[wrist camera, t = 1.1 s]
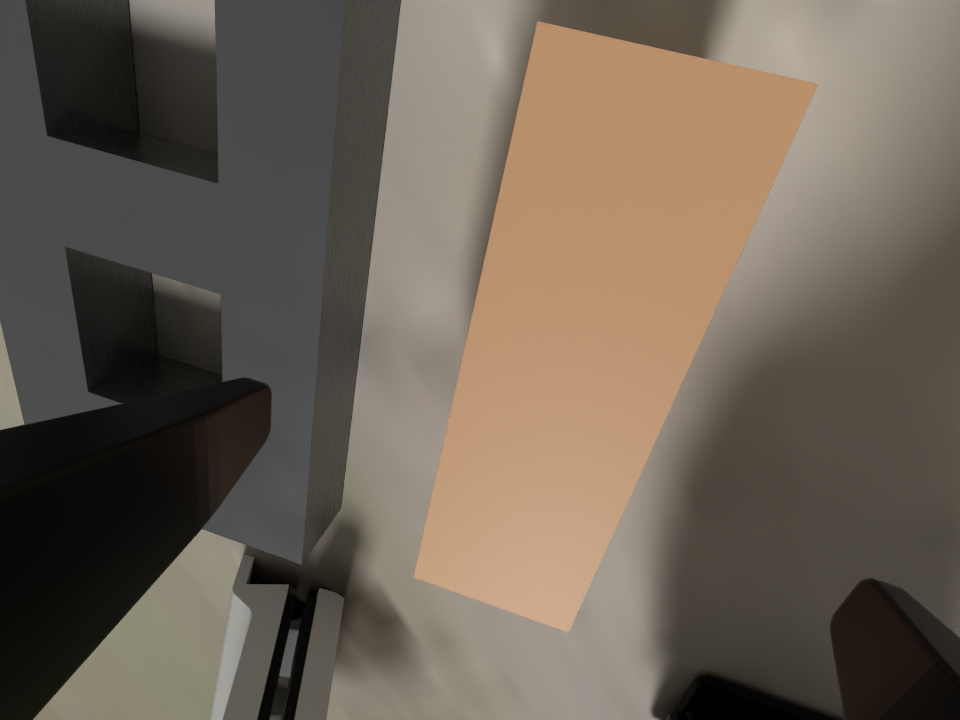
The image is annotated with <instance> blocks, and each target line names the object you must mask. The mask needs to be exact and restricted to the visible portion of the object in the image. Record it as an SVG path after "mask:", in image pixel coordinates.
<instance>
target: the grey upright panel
mask: <svg viewBox="0 0 960 720" xmlns="http://www.w3.org/2000/svg"><path fill="white" fill-rule="evenodd" d="M253 562H254V557H252V556H249V555H243V558H242V561H241V564H240V567H239V570H238V573H237V576H236V579H235V582H234V585H233V588H232V594H231V600H230V606H229V612H228V617H227V623H226V629H225V635H224V640H223V646H222V652H221V658H220V663H219V669H218V675H217V681H216V687H215V692H214V698H213V704H212V710H211V715H210V720H326V717H327V711H328V704H329V697H330V691H331V684H332V677H333V671H334V664H335V657H336V651H337V644H338V637H339V631H340V624H341V617H342V611H343V604H344V598H343V597H342V596H340V595H339V594H337V593H336V592H333V591H329V590H325V589H321V588H320V589H319V591H318V594H317V597H316V598H315V597H307V601H306V604H305V608H304V611H303V615H302V618H298V619H295V620H292V615H293V611H294V606H295V602H296V597H297V595H288V594H287V593H288V588H289V585H282V584H249V582H250V577H251V572H252V567H253ZM291 620H292V621H291ZM279 676H282V677H288V678H290V679H289V684H288V688H278V687H277V683H278V678H279Z"/></svg>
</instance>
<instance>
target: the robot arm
mask: <svg viewBox="0 0 960 720" xmlns="http://www.w3.org/2000/svg"><path fill="white" fill-rule="evenodd" d="M271 413H272V390H271V388H270V386H269V385H268V384H266V383H263V382H260V381H257V380H254V379H251V378H246V377H243V378H238V379H233V380H229V381H224V382H220V383H215V384H210V385H206V386H201V387H197V388H192V389H187V390H183V391H178V392H173V393H169V394H164V395H160V396H155V397H150V398H146V399H141V400H137V401H132V402H127V403H123V404H118V405H114V406H109V407H104V408H100V409H95V410H91V411H86V412H81V413H77V414H72V415H67V416H63V417H58V418H54V419H49V420H44V421H40V422H35V423H31V424H26V425H21V426H17V427H12V428H8V429H3V430H0V720H33V719H34V718H35V717H36V716H37V714H38V713H39V712H40V711H41V710H42V709H43V708H44V706H45V705H46V704H47V703H48V702H49V701H50V700H51V699H52V697H53V696H54V695H55V694H56V693H57V692H58V691H59V690H60V688H61V687H62V686H63V685H64V684H65V683H66V682H67V681H68V679H69V678H70V677H71V676H72V675H73V674H74V673H75V671H76V670H77V669H78V668H79V667H80V666H81V665H82V664H83V662H84V661H85V660H86V659H87V658H88V657H89V656H90V655H91V653H92V652H93V651H94V650H95V649H96V648H97V647H98V646H99V644H100V643H101V642H102V641H103V640H104V639H105V638H106V636H107V635H108V634H109V633H110V632H111V631H112V630H113V629H114V627H115V626H116V625H117V624H118V623H119V622H120V621H121V620H122V618H123V617H124V616H125V615H126V614H127V613H128V612H129V611H130V609H131V608H132V607H133V606H134V605H135V604H136V603H137V601H138V600H139V599H140V598H141V597H142V596H143V595H144V594H145V592H146V591H147V590H148V589H149V588H150V587H151V586H152V585H153V583H154V582H155V581H156V580H157V579H158V578H159V577H160V576H161V574H162V573H163V572H164V571H165V570H166V569H167V568H168V566H169V565H170V564H171V563H172V562H173V561H174V560H175V559H176V557H177V556H178V555H179V554H180V553H181V552H182V551H183V550H184V548H185V547H186V546H187V545H188V544H189V543H190V542H191V541H192V539H193V538H194V537H195V536H196V535H197V534H198V533H199V532H200V530H201V529H202V528H203V527H204V526H205V524H206V523H207V522H208V521H209V520H210V518H211V517H212V516H213V515H214V513H215V512H216V511H217V509H218V508H219V507H220V505H221V504H222V503H223V501H224V500H225V498H226V497H227V496H228V494H229V493H230V491H231V490H232V489H233V487H234V486H235V484H236V483H237V482H238V480H239V479H240V477H241V476H242V475H243V473H244V472H245V470H246V469H247V468H248V466H249V465H250V463H251V462H252V461H253V459H254V458H255V456H256V455H257V454H258V452H259V451H260V449H261V448H262V447H263V445H264V444H265V442H266V441H267V439H268V436H269V434H270V430H271ZM830 634H831V640H832V646H833V653H834V659H835V665H836V671H837V677H838V683H839V689H840V695H841V702H842V708H843V714H844V720H960V637H958V636H957V635H956V634H955V633H954V632H953V631H951V630H950V629H949V628H948V627H947V626H946V625H944V624H943V623H942V622H941V621H940V620H939V619H937V618H936V617H935V616H934V615H933V614H932V613H930V612H929V611H928V610H927V609H926V608H924V607H923V606H922V605H921V604H920V603H919V602H917V601H916V600H915V599H914V598H913V597H912V596H910V595H909V594H908V593H907V592H906V591H904V590H903V589H901V588H899V587H897V586H894V585H891V584H888V583H885V582H882V581H879V580H876V579H872V578H869V579H864V580H862V581H860V582H859V583H858V584H857V585H856V587H855V588H854V589H853V590H852V592H851V593H850V594H849V595H848V597H847V598H846V599H845V600H844V602H843V603H842V604H841V606H840V607H839V608H838V609H837V611H836V612H835V613H834V615H833V617H832V620H831V624H830ZM665 720H835V719H832V718H829V717H826V716H824V715H821V714H818V713H815V712H812V711H809V710H807V709H804V708H801V707H798V706H795V705H792V704H790V703H787V702H784V701H781V700H778V699H775V698H773V697H770V696H767V695H764V694H761V693H758V692H756V691H753V690H750V689H747V688H744V687H741V686H739V685H736V684H733V683H730V682H727V681H725V680H722V679H719V678H716V677H713V676H709V675H704V676H700V677H698V678H696V679H695V681H694V682H693V683H692V685H691V686H690V688H689V689H688V691H687V692H686V694H685V695H684V697H683V698H682V700H681V701H680V703H679V704H678V706H677V707H676V709H675V710H674V711H673V712H671V713H670V714H669V715H668V716H667V718H666V719H665Z"/></svg>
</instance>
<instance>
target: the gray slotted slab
mask: <svg viewBox="0 0 960 720" xmlns="http://www.w3.org/2000/svg"><path fill="white" fill-rule="evenodd" d="M400 2H401V0H215V28H216V79H217V130H218V154H215V153H212V152H208V151H204V150H200V149H197V148H193V147H189V146H186V145H182V144H178V143H175V142H171V141H167V140H164V139H160V138H156V137H153V136H149V135H145V134H142V133H139V126H138V114H137V102H136V90H135V78H134V66H133V54H132V42H131V30H130V19H129V7H128V0H0V322H1V326H2V330H3V334H4V339H5V343H6V347H7V352H8V356H9V360H10V364H11V369H12V373H13V377H14V381H15V386H16V390H17V394H18V398H19V403H20V407H21V411H22V416H23V420H24V424H25V425H26V424H31V423H35V422H40V421H44V420H49V419H54V418H58V417H63V416H67V415H72V414H77V413H81V412H86V411H91V410H95V409H100V408H104V407H109V406H114V405H118V404H123V403H127V402H132V401H137V400H141V399H146V398H150V397H155V396H160V395H164V394H169V393H173V392H178V391H183V390H187V389H192V388H197V387H201V386H206V385H210V384H215V383H220V382H224V381H229V380H233V379H238V378H243V377H246V378H251V379H254V380H257V381H260V382H263V383H266V384H268V385H269V386H270V388H271V390H272V413H271V430H270V434H269V436H268V439H267V441H266V442H265V444H264V445H263V447H262V448H261V449H260V451H259V452H258V454H257V455H256V456H255V458H254V459H253V461H252V462H251V463H250V465H249V466H248V468H247V469H246V470H245V472H244V473H243V475H242V476H241V477H240V479H239V480H238V482H237V483H236V484H235V486H234V487H233V489H232V490H231V491H230V493H229V494H228V496H227V497H226V498H225V500H224V501H223V503H222V504H221V505H220V507H219V508H218V509H217V511H216V512H215V513H214V515H213V516H212V517H211V518H210V520H209V521H208V522H207V523H206V524H205V526H204V527H203V528H202V529H204V530H206V531H209V532H212V533H215V534H217V535H220V536H223V537H226V538H229V539H231V540H234V541H237V542H240V543H242V544H245V545H248V546H251V547H253V548H256V549H259V550H262V551H265V552H267V553H270V554H273V555H276V556H278V557H281V558H284V559H287V560H289V561H292V562H295V563H298V564H301V565H302V564H303V562H304V561H305V559H306V558H307V557H308V555H309V554H310V552H311V551H312V549H313V548H314V546H315V545H316V544H317V542H318V541H319V539H320V538H321V536H322V535H323V534H324V532H325V531H326V529H327V528H328V526H329V525H330V523H331V522H332V521H333V519H334V518H335V516H336V515H337V513H338V512H339V511H340V509H341V502H342V494H343V485H344V477H345V468H346V460H347V452H348V443H349V435H350V426H351V418H352V409H353V401H354V392H355V384H356V375H357V367H358V358H359V350H360V341H361V333H362V324H363V316H364V307H365V299H366V290H367V282H368V273H369V265H370V257H371V248H372V240H373V231H374V223H375V214H376V206H377V197H378V189H379V180H380V172H381V163H382V155H383V146H384V138H385V129H386V121H387V112H388V104H389V95H390V87H391V78H392V70H393V61H394V53H395V45H396V36H397V28H398V19H399V11H400ZM151 273H153V274H156V275H160V276H163V277H166V278H170V279H173V280H176V281H179V282H183V283H186V284H189V285H193V286H196V287H199V288H202V289H206V290H209V291H212V292H216V293H219V294H221V333H222V376H220V375H217V374H214V373H210V372H207V371H204V370H201V369H198V368H195V367H192V366H189V365H186V364H183V363H180V362H176V361H173V360H170V359H167V358H164V357H161V356H158V352H157V340H156V328H155V316H154V304H153V292H152V280H151Z"/></svg>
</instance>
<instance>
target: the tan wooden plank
mask: <svg viewBox="0 0 960 720" xmlns="http://www.w3.org/2000/svg"><path fill="white" fill-rule="evenodd" d="M817 86H818V84H816V83H811V82H807V81H802V80H798V79H793V78H789V77H784V76H780V75H776V74H771V73H767V72H762V71H758V70H753V69H749V68H744V67H740V66H735V65H731V64H726V63H722V62H718V61H713V60H709V59H704V58H700V57H695V56H691V55H686V54H682V53H677V52H673V51H668V50H664V49H660V48H655V47H651V46H646V45H642V44H637V43H633V42H628V41H624V40H619V39H615V38H610V37H606V36H602V35H597V34H593V33H588V32H584V31H579V30H575V29H570V28H566V27H561V26H557V25H552V24H548V23H544V22H539V21H537V25H536V30H535V34H534V39H533V43H532V48H531V52H530V57H529V61H528V66H527V70H526V75H525V79H524V84H523V88H522V93H521V97H520V102H519V106H518V111H517V115H516V120H515V124H514V129H513V133H512V138H511V142H510V147H509V151H508V156H507V160H506V165H505V169H504V174H503V178H502V183H501V187H500V192H499V196H498V201H497V205H496V210H495V214H494V219H493V223H492V228H491V232H490V236H489V241H488V245H487V250H486V254H485V259H484V263H483V268H482V272H481V277H480V281H479V286H478V290H477V295H476V299H475V304H474V308H473V313H472V317H471V322H470V326H469V331H468V335H467V340H466V344H465V349H464V353H463V358H462V362H461V367H460V371H459V376H458V380H457V385H456V389H455V394H454V398H453V403H452V407H451V412H450V416H449V421H448V425H447V430H446V434H445V439H444V443H443V448H442V452H441V457H440V461H439V466H438V470H437V475H436V479H435V484H434V488H433V492H432V497H431V501H430V506H429V510H428V515H427V519H426V524H425V528H424V533H423V537H422V542H421V546H420V551H419V555H418V560H417V564H416V569H415V573H414V578H416V579H419V580H422V581H425V582H428V583H431V584H433V585H436V586H439V587H442V588H445V589H447V590H450V591H453V592H456V593H459V594H461V595H464V596H467V597H470V598H473V599H476V600H478V601H481V602H484V603H487V604H490V605H492V606H495V607H498V608H501V609H504V610H507V611H509V612H512V613H515V614H518V615H521V616H523V617H526V618H529V619H532V620H535V621H538V622H540V623H543V624H546V625H549V626H552V627H554V628H557V629H560V630H563V631H566V632H568V633H569V630H570V628H571V626H572V624H573V622H574V619H575V617H576V615H577V613H578V611H579V609H580V606H581V604H582V602H583V600H584V598H585V595H586V593H587V591H588V589H589V587H590V584H591V582H592V580H593V578H594V576H595V573H596V571H597V569H598V567H599V565H600V562H601V560H602V558H603V556H604V554H605V551H606V549H607V547H608V545H609V543H610V540H611V538H612V536H613V534H614V532H615V529H616V527H617V525H618V523H619V521H620V519H621V516H622V514H623V512H624V510H625V508H626V505H627V503H628V501H629V499H630V497H631V494H632V492H633V490H634V488H635V486H636V483H637V481H638V479H639V477H640V475H641V472H642V470H643V468H644V466H645V464H646V461H647V459H648V457H649V455H650V453H651V450H652V448H653V446H654V444H655V442H656V440H657V437H658V435H659V433H660V431H661V429H662V426H663V424H664V422H665V420H666V418H667V415H668V413H669V411H670V409H671V407H672V404H673V402H674V400H675V398H676V396H677V393H678V391H679V389H680V387H681V385H682V382H683V380H684V378H685V376H686V374H687V371H688V369H689V367H690V365H691V363H692V360H693V358H694V356H695V354H696V352H697V350H698V347H699V345H700V343H701V341H702V339H703V336H704V334H705V332H706V330H707V328H708V325H709V323H710V321H711V319H712V317H713V314H714V312H715V310H716V308H717V306H718V303H719V301H720V299H721V297H722V295H723V292H724V290H725V288H726V286H727V284H728V281H729V279H730V277H731V275H732V273H733V271H734V268H735V266H736V264H737V262H738V260H739V257H740V255H741V253H742V251H743V249H744V246H745V244H746V242H747V240H748V238H749V235H750V233H751V231H752V229H753V227H754V224H755V222H756V220H757V218H758V216H759V213H760V211H761V209H762V207H763V205H764V202H765V200H766V198H767V196H768V194H769V191H770V189H771V187H772V185H773V183H774V181H775V178H776V176H777V174H778V172H779V170H780V167H781V165H782V163H783V161H784V159H785V156H786V154H787V152H788V150H789V148H790V145H791V143H792V141H793V139H794V137H795V134H796V132H797V130H798V128H799V126H800V123H801V121H802V119H803V117H804V115H805V112H806V110H807V108H808V106H809V104H810V102H811V99H812V97H813V95H814V93H815V91H816V88H817Z"/></svg>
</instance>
